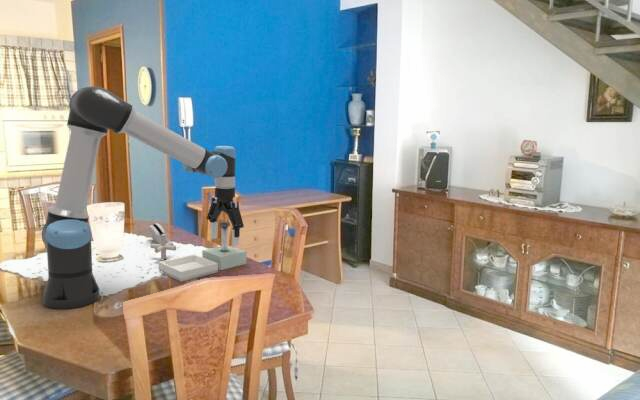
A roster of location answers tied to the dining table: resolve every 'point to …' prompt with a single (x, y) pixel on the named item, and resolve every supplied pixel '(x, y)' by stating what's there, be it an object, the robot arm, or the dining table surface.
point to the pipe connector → (163, 246)
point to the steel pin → (224, 236)
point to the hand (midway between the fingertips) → (224, 241)
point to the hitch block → (225, 257)
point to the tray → (188, 267)
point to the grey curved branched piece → (158, 233)
